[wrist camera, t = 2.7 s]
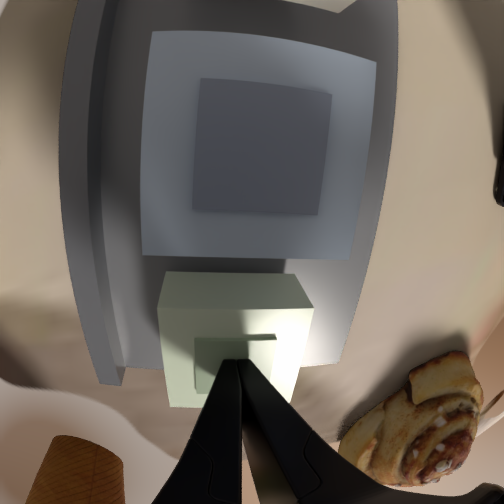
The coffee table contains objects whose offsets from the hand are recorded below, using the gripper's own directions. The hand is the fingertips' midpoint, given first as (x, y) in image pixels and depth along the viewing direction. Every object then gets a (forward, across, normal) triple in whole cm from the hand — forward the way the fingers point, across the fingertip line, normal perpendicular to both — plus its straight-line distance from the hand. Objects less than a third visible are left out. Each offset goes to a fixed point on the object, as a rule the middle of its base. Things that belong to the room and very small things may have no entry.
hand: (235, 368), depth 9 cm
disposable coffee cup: (+4, +11, +16) cm, 20 cm away
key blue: (+1, 0, -6) cm, 7 cm away
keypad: (+4, 0, -6) cm, 8 cm away
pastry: (+4, -16, +13) cm, 21 cm away
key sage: (+2, 0, 0) cm, 2 cm away
